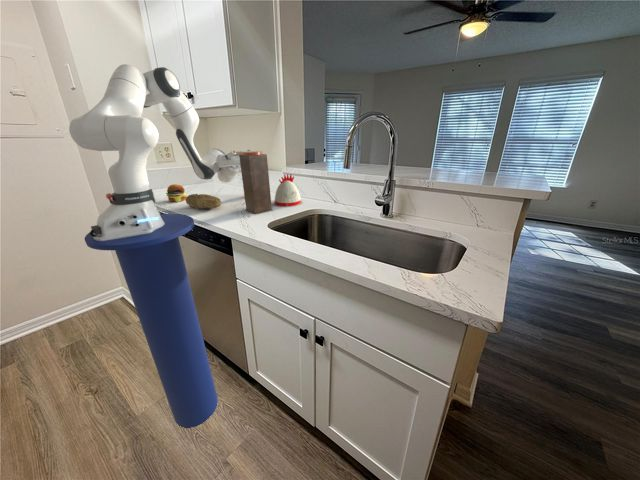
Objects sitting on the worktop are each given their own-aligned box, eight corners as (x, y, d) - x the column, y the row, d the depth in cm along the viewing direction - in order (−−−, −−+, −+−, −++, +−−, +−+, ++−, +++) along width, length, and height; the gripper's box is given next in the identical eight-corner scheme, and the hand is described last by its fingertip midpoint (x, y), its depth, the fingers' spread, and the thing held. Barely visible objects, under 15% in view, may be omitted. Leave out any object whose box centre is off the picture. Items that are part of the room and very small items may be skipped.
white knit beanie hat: (305, 203, 137) (303, 174, 131) (280, 207, 131) (278, 177, 125) (294, 198, 148) (293, 171, 142) (271, 201, 142) (269, 173, 136)
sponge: (184, 209, 135) (196, 208, 120) (183, 194, 134) (194, 191, 119) (210, 209, 144) (224, 208, 129) (209, 194, 143) (223, 192, 128)
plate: (248, 155, 112) (248, 152, 111) (229, 153, 125) (229, 150, 124) (265, 154, 117) (265, 151, 116) (245, 152, 130) (245, 150, 129)
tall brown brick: (255, 213, 121) (248, 155, 111) (246, 210, 127) (239, 154, 117) (271, 210, 127) (266, 154, 117) (262, 206, 133) (256, 153, 123)
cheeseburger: (167, 203, 142) (163, 184, 140) (169, 203, 151) (164, 186, 150) (188, 200, 146) (183, 182, 144) (188, 201, 156) (184, 184, 154)
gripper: (210, 160, 128) (218, 146, 117) (248, 157, 141) (258, 144, 130) (215, 172, 128) (223, 159, 117) (252, 168, 141) (262, 156, 130)
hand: (242, 151), depth 124 cm, fingers open, 7 cm apart
